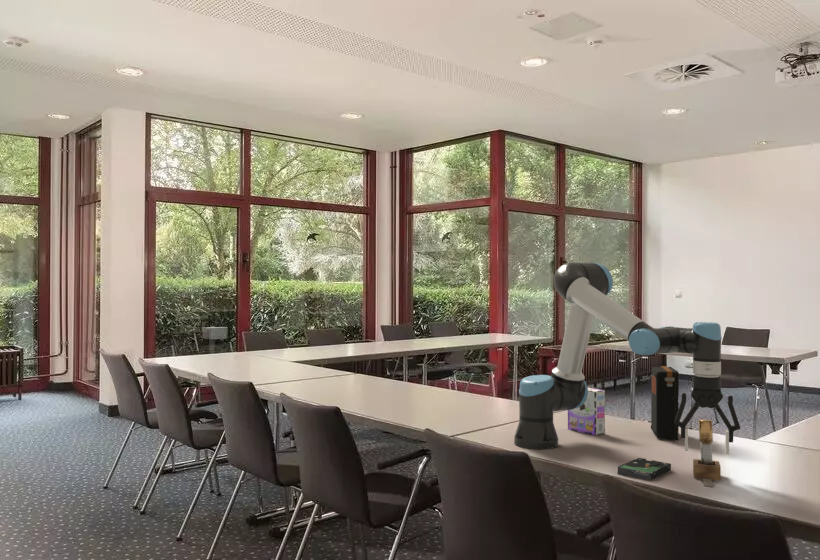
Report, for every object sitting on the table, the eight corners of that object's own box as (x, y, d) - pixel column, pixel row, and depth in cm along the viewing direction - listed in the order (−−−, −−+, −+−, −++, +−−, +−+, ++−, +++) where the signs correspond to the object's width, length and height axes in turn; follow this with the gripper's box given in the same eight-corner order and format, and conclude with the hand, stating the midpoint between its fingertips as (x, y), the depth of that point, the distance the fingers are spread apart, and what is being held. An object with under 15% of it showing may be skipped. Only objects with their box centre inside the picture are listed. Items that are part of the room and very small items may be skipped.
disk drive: (638, 466, 213) (616, 475, 202) (638, 457, 213) (616, 466, 202) (671, 472, 206) (651, 482, 195) (671, 463, 206) (651, 472, 195)
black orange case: (681, 441, 243) (681, 371, 243) (655, 440, 245) (656, 370, 245) (673, 432, 258) (673, 366, 258) (649, 431, 260) (649, 365, 260)
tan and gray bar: (700, 476, 198) (699, 421, 198) (700, 473, 201) (698, 419, 202) (714, 477, 197) (712, 421, 197) (713, 474, 200) (711, 419, 200)
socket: (693, 478, 197) (694, 464, 197) (693, 472, 204) (693, 458, 204) (720, 481, 195) (720, 467, 195) (718, 474, 201) (718, 461, 201)
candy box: (605, 434, 255) (605, 389, 255) (595, 436, 251) (595, 391, 251) (577, 427, 266) (577, 385, 266) (566, 429, 263) (567, 386, 263)
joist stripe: (703, 486, 190) (703, 485, 190) (700, 467, 209) (700, 466, 209) (713, 487, 189) (713, 486, 189) (708, 467, 209) (708, 466, 209)
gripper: (665, 375, 200) (664, 451, 200) (751, 379, 192) (751, 458, 192) (665, 371, 207) (664, 445, 207) (748, 375, 199) (748, 452, 199)
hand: (706, 451), depth 199 cm, fingers open, 10 cm apart
